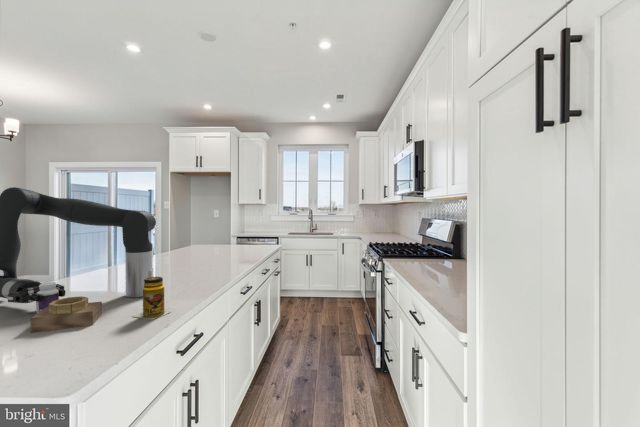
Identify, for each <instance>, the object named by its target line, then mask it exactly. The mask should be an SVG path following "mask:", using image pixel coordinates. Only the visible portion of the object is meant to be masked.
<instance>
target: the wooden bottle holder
mask: <svg viewBox="0 0 640 427" xmlns="http://www.w3.org/2000/svg"><path fill="white" fill-rule="evenodd" d="M102 302H103V301H93V302H89V297H87V296H81V295H80V296H70V297H69V296H68V297H64V298H59V300H55V301H53V302H51V303H50V304H49V307H46V308H44V309H43V310H42V311H40V312H39V313H37V312H36V314H35V315H33V316H32V317H30V333H37V332H45V331H53V330H54V331H55V330H62V329H69V328H77V327H86V326H94V325H95V323H96V322H97V320H98V319H99V318H100V316H102V314H103V303H102Z"/></svg>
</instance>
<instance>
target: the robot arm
mask: <svg viewBox="0 0 640 427" xmlns="http://www.w3.org/2000/svg"><path fill="white" fill-rule="evenodd" d="M22 214H24V215H41V216H49V217H50V216H51V217H55V218H58V219H60V220H63V221H67V222H69V223H74V224H80V225H88V226H98V227H99V226H101V227H117V228H121V229H122V230H121V231H122V243H123V246H124V248H125V249H124V250H125V256H124V258H125V265H124V266H125V297H127V298H143V288H144V280H145V279H146V278H149V277H154V267H153V263H154V262H153V260H154V259H153V256H154V255H153V250H154V249H153V243H152V242H151V240H150V236H149V232H151V231H152V230H153V229H154V228H155V227H156V225H157V219H156V217H155V216H154V215H153V213H150V212H148V211H146V210H135V209H134V210H132V209H125V208H119V207H116V206H112V205H108V204H104V203H100V202H95V201H90V200H84V199H81V198H80V199H78V198H69V197H68V198H63V197H61V198H59V197H54V196H50V195H46V194H43V193H40V192H37V191H34V190H31V189H26V188H25V189H24V188H21V187H16V186H15V187H7V188H6V189H4V190H3V191H2V192H0V271H2V272H3V275H0V298H2V299H7V302H8V303H16V304H29V303H33V302H42V301H43V295H42V294H37V292H38V291H40V289H39V285H40V284H42V283H41V282H40V281H39V280H34V279H30V278H18V276H17V275H18V274H17V273H18V272H17V263H18V261H19V255H20V252H21V247H22V246H21V245H22V244H21V239H20V234H19V228H18V226H19V220H20V217H21V215H22ZM55 289H58V291H59V298H60V297H65V296H66V290H65V285H62V284H59V283H56V287H55Z"/></svg>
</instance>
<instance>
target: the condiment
mask: <svg viewBox="0 0 640 427" xmlns="http://www.w3.org/2000/svg"><path fill="white" fill-rule="evenodd" d="M163 278H164V277H161V276H153V277H149V278H146V279H145V280H144V288H143V297H142V312H141V313H138V314H135V315H132V317H134V318H141V319H143V320H150V321H153V320H155V319H157V318H160V317H162V316H165V315H167V314H169V313H170V311H168V310H167V311H166V310H165V285H164V279H163Z"/></svg>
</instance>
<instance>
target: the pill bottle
mask: <svg viewBox="0 0 640 427" xmlns="http://www.w3.org/2000/svg"><path fill="white" fill-rule="evenodd" d="M56 284H57V283H56V282H54V281H53V282H52V281H51V282H45V283H41V284H40V285H39V289H40V291H38V292H37V294H42V295H43V301H42V302H36V301H35V302H36V314H37V313H39V312H40V311H42V310H43V309H44V308H46V307H49V304H50V303H51V302H53V301H55V300H59V299H60V296H59V291H58V289H55V287H56Z"/></svg>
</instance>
